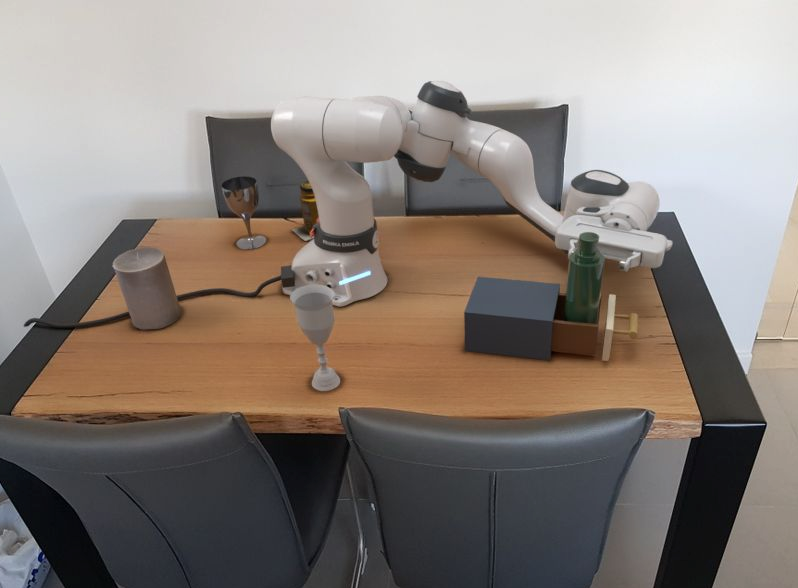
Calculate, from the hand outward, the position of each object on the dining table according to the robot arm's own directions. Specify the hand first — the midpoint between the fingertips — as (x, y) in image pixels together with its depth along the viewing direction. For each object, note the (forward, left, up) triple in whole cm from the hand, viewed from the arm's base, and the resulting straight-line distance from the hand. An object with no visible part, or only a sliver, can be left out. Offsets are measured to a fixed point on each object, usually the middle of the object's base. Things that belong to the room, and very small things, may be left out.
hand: (597, 261), depth 128 cm
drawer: (-1, -6, -13) cm, 14 cm away
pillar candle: (-86, -13, -14) cm, 88 cm away
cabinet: (-14, -6, -14) cm, 21 cm away
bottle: (-2, -6, -12) cm, 13 cm away
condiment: (-68, +29, -14) cm, 75 cm away
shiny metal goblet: (-81, +21, -14) cm, 85 cm away
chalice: (-44, -26, -14) cm, 53 cm away
